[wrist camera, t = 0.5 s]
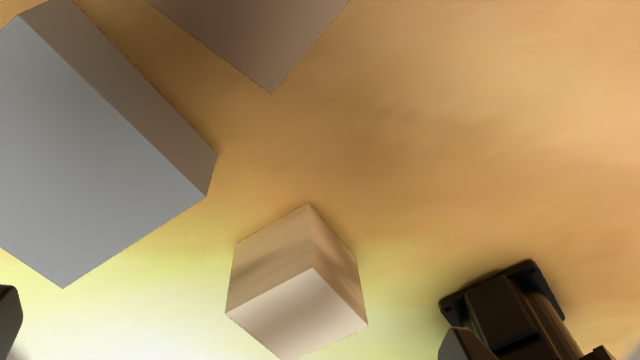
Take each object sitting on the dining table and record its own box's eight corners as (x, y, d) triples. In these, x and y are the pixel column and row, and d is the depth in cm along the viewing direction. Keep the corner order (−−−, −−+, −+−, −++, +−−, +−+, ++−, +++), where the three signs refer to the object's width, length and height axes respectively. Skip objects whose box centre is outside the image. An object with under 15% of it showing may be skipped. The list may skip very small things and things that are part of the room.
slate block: (218, 150, 22) (206, 197, 19) (93, 234, 24) (62, 288, 21) (68, -9, 18) (17, 14, 14) (-66, 112, 20) (-137, 155, 17)
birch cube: (355, 256, 26) (368, 326, 22) (287, 292, 27) (286, 364, 23) (308, 201, 24) (312, 267, 20) (235, 243, 25) (224, 313, 21)
